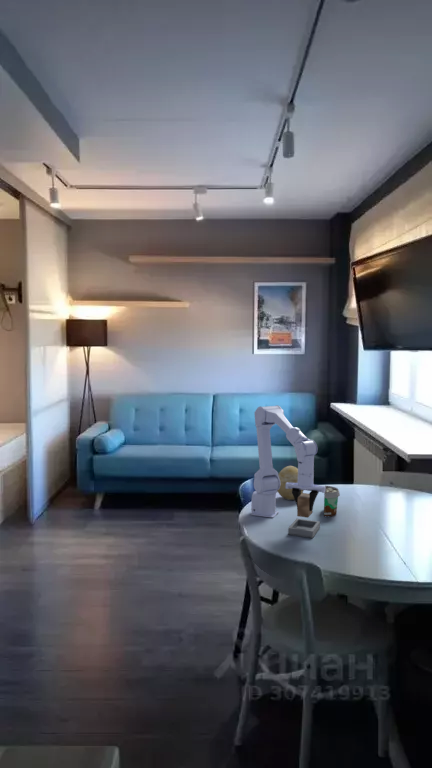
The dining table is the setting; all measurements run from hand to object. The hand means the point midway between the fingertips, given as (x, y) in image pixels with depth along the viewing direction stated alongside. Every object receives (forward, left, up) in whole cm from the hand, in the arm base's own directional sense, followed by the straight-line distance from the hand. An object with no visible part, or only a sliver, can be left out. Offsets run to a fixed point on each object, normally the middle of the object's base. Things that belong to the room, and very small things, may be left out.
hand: (304, 509), depth 211 cm
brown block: (0, 0, -2) cm, 2 cm away
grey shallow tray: (0, 0, -8) cm, 8 cm away
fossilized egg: (-16, +39, -8) cm, 43 cm away
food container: (+5, +26, -8) cm, 28 cm away
